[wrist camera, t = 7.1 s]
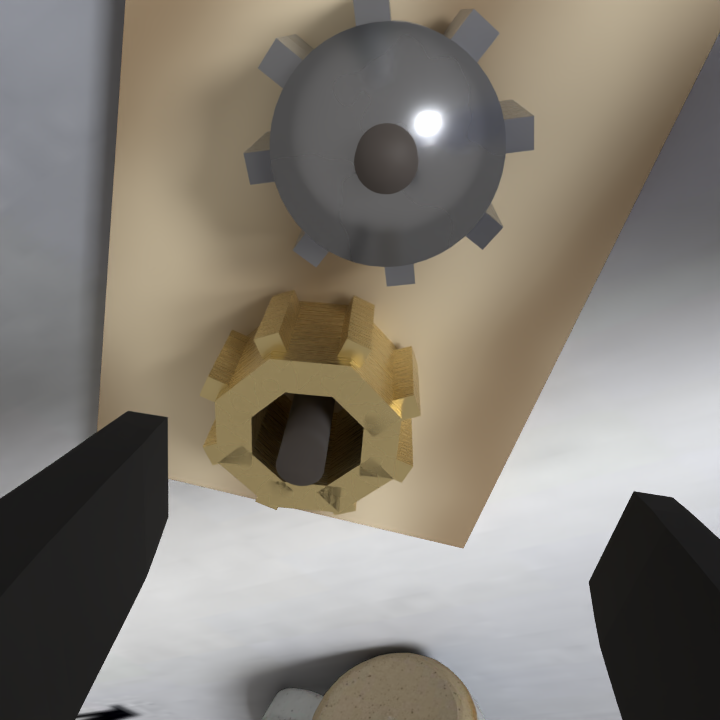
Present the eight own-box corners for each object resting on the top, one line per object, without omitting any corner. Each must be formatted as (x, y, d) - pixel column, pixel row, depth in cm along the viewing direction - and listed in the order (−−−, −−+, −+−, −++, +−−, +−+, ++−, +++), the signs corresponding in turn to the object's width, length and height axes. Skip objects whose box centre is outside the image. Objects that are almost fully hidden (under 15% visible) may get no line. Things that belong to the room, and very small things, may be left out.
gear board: (726, -33, 14) (884, -55, 10) (460, 523, 23) (475, 650, 18) (162, -221, 13) (35, -346, 8) (109, 439, 22) (33, 552, 17)
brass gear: (403, 455, 20) (405, 532, 17) (231, 439, 20) (202, 513, 17) (425, 295, 17) (432, 354, 14) (225, 277, 17) (189, 332, 14)
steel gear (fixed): (543, 35, 14) (583, 41, 11) (459, 263, 17) (473, 317, 14) (301, -41, 13) (273, -56, 10) (255, 206, 16) (223, 249, 13)
